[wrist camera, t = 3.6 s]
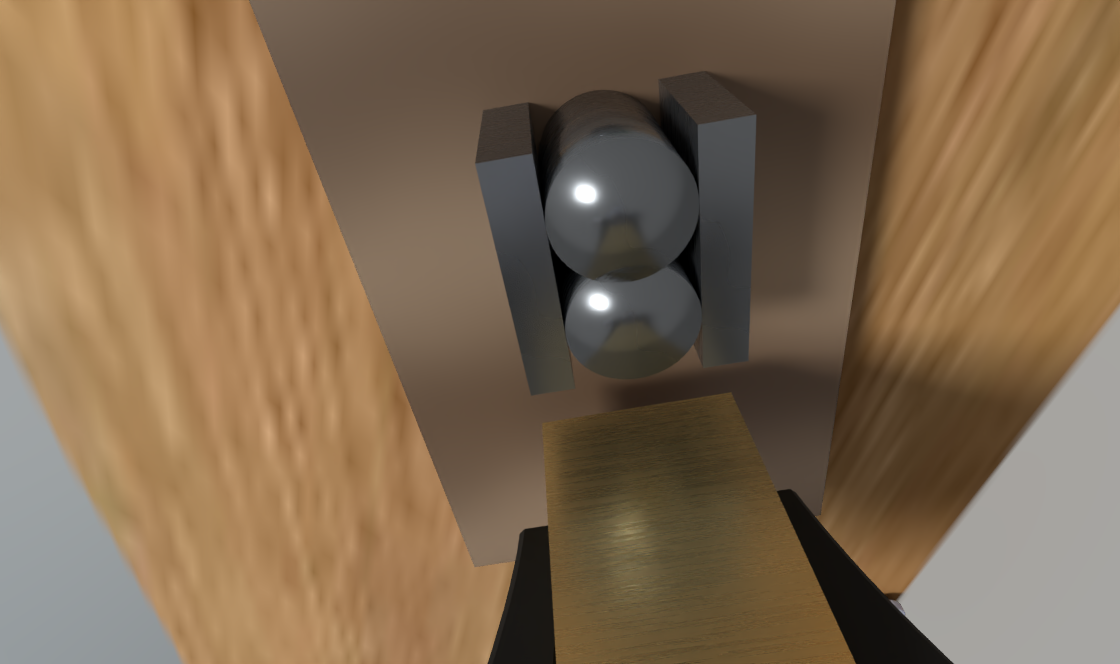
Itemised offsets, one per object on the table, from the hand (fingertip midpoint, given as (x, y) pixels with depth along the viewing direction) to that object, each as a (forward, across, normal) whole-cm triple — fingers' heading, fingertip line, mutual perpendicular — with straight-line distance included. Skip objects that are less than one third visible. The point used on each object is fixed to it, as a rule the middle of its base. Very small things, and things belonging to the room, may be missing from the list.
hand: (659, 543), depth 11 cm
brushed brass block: (+2, 0, 0) cm, 2 cm away
